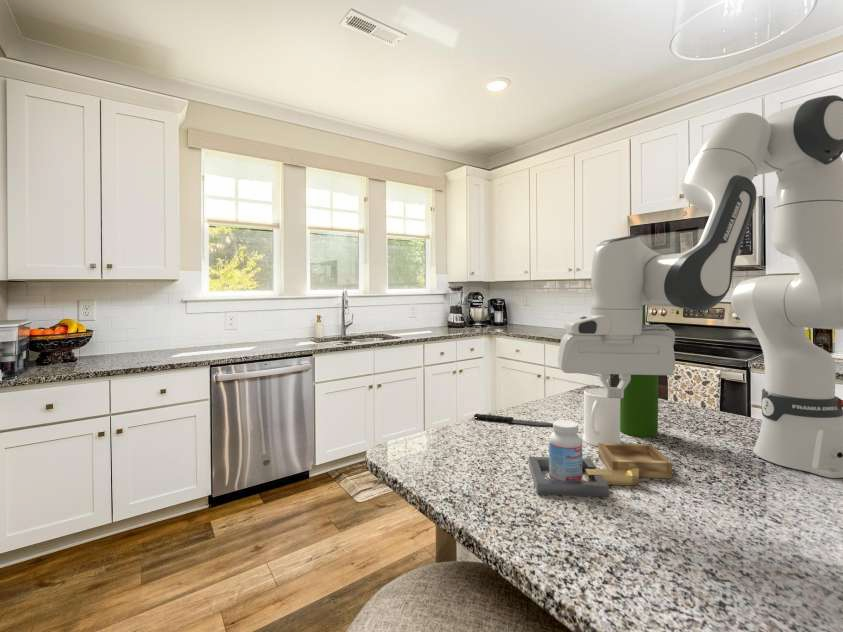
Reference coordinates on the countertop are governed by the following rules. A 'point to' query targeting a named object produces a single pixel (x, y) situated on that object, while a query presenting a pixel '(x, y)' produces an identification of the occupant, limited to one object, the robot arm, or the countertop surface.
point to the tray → (635, 459)
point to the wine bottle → (640, 404)
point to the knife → (508, 420)
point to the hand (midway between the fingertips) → (613, 397)
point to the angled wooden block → (615, 475)
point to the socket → (566, 487)
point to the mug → (601, 418)
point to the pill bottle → (565, 452)
